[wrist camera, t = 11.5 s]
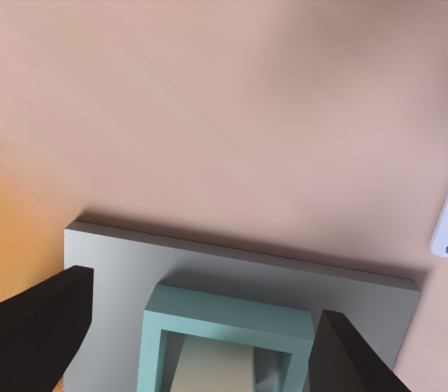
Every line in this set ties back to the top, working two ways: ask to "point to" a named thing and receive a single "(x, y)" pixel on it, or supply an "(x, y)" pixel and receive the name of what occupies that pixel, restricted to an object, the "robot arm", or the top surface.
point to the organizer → (216, 308)
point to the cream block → (214, 366)
